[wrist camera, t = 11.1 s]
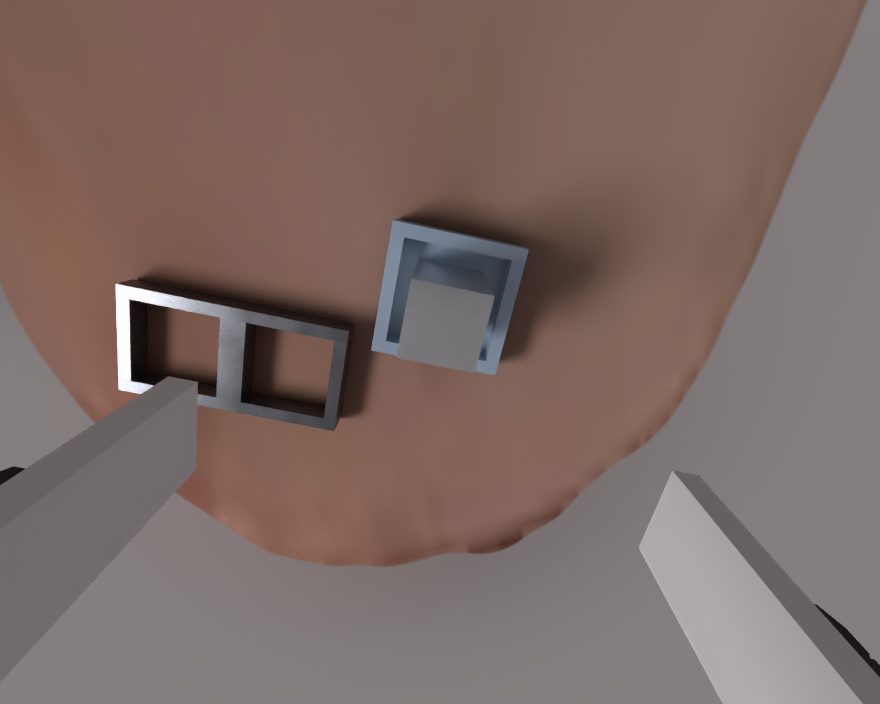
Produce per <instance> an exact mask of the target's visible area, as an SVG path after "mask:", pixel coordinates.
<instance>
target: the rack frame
mask: <svg viewBox="0 0 880 704" xmlns="http://www.w3.org/2000/svg"><path fill="white" fill-rule="evenodd" d="M146 303H151V304H156V305H161V306H166V307H170V308H175V309H180V310H185V311H190V312H195V313H200V314H205V315H210V316H215V317H220V333H219V353H218V373H217V386H215V385H210V384H205V383H199V382H198V394H197V405H201V406H206V407H212V408H217V409H222V410H227V411H233V412H238V413H243V414H248V415H253V416H259V417H264V418H269V419H274V420H279V421H285V422H290V423H295V424H300V425H306V426H311V427H316V428H321V429H326V430H332V431H334V430H335V428H336V426H337V424H338V422H339V420H340V413H341V407H342V400H343V393H344V387H345V380H346V374H347V367H348V360H349V354H350V347H351V341H352V334H353V328H354V324H349V323H344V322H339V321H334V320H329V319H324V318H320V317H315V316H310V315H305V314H300V313H295V312H290V311H285V310H280V309H276V308H271V307H266V306H261V305H256V304H251V303H246V302H241V301H236V300H232V299H227V298H222V297H217V296H212V295H207V294H202V293H197V292H192V291H188V290H183V289H178V288H173V287H168V286H163V285H158V284H153V283H148V282H144V281H139V280H134V279H133V280H129V281H125V282H121V283H117V284H116V313H117V347H118V382H119V390H123V391H128V392H133V393H139V394H142V393H143V392H145V391H147V390H148V389H150V388H151V387H153V386H154V385H156V384H157V383H159V382H160V381H162V380H164V379H165V378H167V377H168V376H163V375H158V374H153V373H148V372H146ZM256 325H259V326H264V327H269V328H274V329H279V330H284V331H289V332H294V333H299V334H304V335H309V336H314V337H319V338H324V339H329V340H334V349H333V356H332V363H331V370H330V378H329V385H328V392H327V399H326V406H325V407H323V406H318V405H313V404H307V403H302V402H297V401H292V400H287V399H282V398H277V397H271V396H266V395H261V394H256V393H251V379H252V366H253V353H254V340H255V327H256Z"/></svg>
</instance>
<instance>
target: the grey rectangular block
mask: <svg viewBox="0 0 880 704" xmlns="http://www.w3.org/2000/svg"><path fill="white" fill-rule="evenodd" d="M494 297H495V296H494V294H493V292H492V290H491V287H490V285H489V283H488V281H487V279H486V277H485V275H484V273H483V272H480V271H475V270H470V269H466V268H461V267H457V266H452V265H447V264H443V263H438V262H433V261H429V260H424V259H420V260H419V262H418V264H417V267H416V269H415V271H414V273H413V275H412V278H411V282H410V287H409V292H408V297H407V303H406V308H405V313H404V319H403V324H402V329H401V335H400V340H399V345H398V350H397V356H396V358H401V359H406V360H411V361H416V362H421V363H426V364H431V365H435V366H440V367H445V368H450V369H455V370H460V371H465V372H470V373H475V372H476V368H477V364H478V360H479V356H480V352H481V348H482V344H483V340H484V336H485V332H486V328H487V324H488V320H489V316H490V312H491V309H492V305H493V301H494Z"/></svg>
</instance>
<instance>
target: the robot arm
mask: <svg viewBox="0 0 880 704" xmlns="http://www.w3.org/2000/svg"><path fill="white" fill-rule="evenodd" d="M197 394H198V382H196V381H191V380H185V379H180V378H175V377H169V376H168V377H167V378H165V379H164V380H162V381H160V382H159V383H157V384H156V385H154V386H153V387H151V388H150V389H148V390H147V391H145V392H143V393H142V394H140V395H139V396H137V397H136V398H134V399H133V400H131V401H130V402H128V403H127V404H125V405H123V406H122V407H120V408H119V409H117V410H116V411H114V412H113V413H111V414H110V415H108V416H106V417H105V418H103V419H102V420H100V421H99V422H97V423H96V424H94V425H93V426H91V427H89V428H88V429H86V430H85V431H83V432H82V433H80V434H79V435H77V436H76V437H74V438H73V439H71V440H70V441H68V442H66V443H65V444H63V445H62V446H60V447H59V448H57V449H56V450H54V451H52V452H51V453H49V454H48V455H46V456H45V457H43V458H42V459H40V460H39V461H37V462H35V463H34V464H32V465H31V466H29V467H28V468H26V469H24V468H19V467H11V468H8V469H5V470H3V471H0V682H1V680H3V679H4V677H5V676H6V675H7V674H8V673H9V672H10V671H11V670H12V669H13V668H14V667H15V666H16V664H17V663H18V662H19V661H20V660H21V659H22V658H23V657H24V656H25V654H26V653H27V652H28V651H29V650H30V649H31V648H32V647H33V646H34V645H35V644H36V643H37V641H39V639H40V638H41V637H42V636H43V635H44V634H45V633H46V632H47V631H48V629H50V627H51V626H52V625H53V624H54V623H55V622H56V621H57V620H58V619H59V618H60V617H61V615H62V614H63V613H64V612H65V611H66V610H67V609H68V608H69V607H70V606H71V605H72V603H73V602H74V601H75V600H76V599H77V598H78V597H79V596H80V595H81V594H82V593H83V592H84V590H85V589H86V588H87V587H88V586H89V585H90V584H91V583H92V582H93V581H94V580H95V578H96V577H97V576H98V575H99V574H100V573H101V572H102V571H103V570H104V569H105V568H106V566H107V565H108V564H109V563H110V562H111V561H112V560H113V559H114V558H115V557H116V556H117V555H118V553H119V552H120V551H121V550H122V549H123V548H124V547H125V546H126V545H127V544H128V543H129V542H130V540H131V539H132V538H133V537H134V536H135V535H136V534H137V533H138V532H139V531H140V530H141V528H142V527H143V526H144V525H145V524H146V523H147V522H148V521H149V520H150V518H152V516H153V515H154V514H155V513H156V512H157V511H158V510H159V509H160V508H161V507H162V505H164V503H165V502H166V501H167V500H168V499H169V498H170V497H171V496H172V495H173V494H174V493H175V492H176V490H177V489H178V488H179V487H180V486H181V485H182V484H183V483H184V482H185V481H186V480H187V478H188V477H189V476H190V475H191V474H192V473H193V472H194V471H195V470H196V440H197ZM639 549H640V551H641V553H642V555H643V557H644V559H645V560H646V562H647V564H648V566H649V568H650V570H651V572H652V573H653V575H654V577H655V579H656V581H657V583H658V585H659V586H660V588H661V590H662V592H663V594H664V595H665V597H666V599H667V601H668V603H669V605H670V607H671V609H672V610H673V612H674V614H675V616H676V618H677V620H678V621H679V623H680V625H681V627H682V629H683V631H684V633H685V634H686V636H687V638H688V639H689V642H690V644H691V646H692V647H693V649H694V651H695V653H696V655H697V656H698V659H699V660H700V662H701V664H702V666H703V668H704V669H705V671H706V673H707V675H708V677H709V679H710V681H711V683H712V684H713V686H714V688H715V690H716V692H717V694H718V696H719V697H720V699H721V701H722V703H723V704H880V665H879V664H878V663H877V662H876V661H875V660H874V659H871V658H870V656H869V655H870V654H869V653H868V652H867V651H866V650H865V649H864V647H863V646H861V644H860V643H859V642H858V641H857V640H856V639H855V638H854V637H853V636H852V634H851V633H850V632H849V631H848V630H847V629H846V628H845V627H844V626H842V625H841V624H840V623H839V622H837V621H836V620H835V619H834V618H832V617H831V616H830V615H829V614H827V613H826V612H825V611H824V610H823V609H821V608H820V607H819V606H818V605H815V604H813V603H812V601H810V599H809V598H808V597H807V596H806V595H805V594H804V593H803V591H802V590H801V589H800V588H799V587H798V586H797V585H796V584H795V583H794V581H793V580H792V579H791V578H790V577H789V576H788V575H787V573H786V572H785V571H784V570H783V569H782V568H781V567H780V566H779V565H778V564H777V562H776V561H775V560H774V559H773V558H772V557H771V556H770V554H769V553H768V552H767V551H766V550H765V549H764V548H763V547H762V546H761V544H760V543H759V542H758V541H757V540H756V539H755V538H754V537H753V536H752V534H751V533H750V532H749V531H748V530H747V529H746V528H745V527H744V525H743V524H742V523H741V522H740V521H739V520H738V519H737V518H736V516H734V514H733V513H732V512H731V511H730V510H729V509H728V508H727V506H726V505H725V504H724V503H723V502H722V501H721V500H720V499H719V497H718V496H717V495H716V494H715V493H714V492H713V491H712V490H711V489H710V487H709V486H708V485H707V484H706V483H705V482H704V481H703V480H702V479H701V477H700V476H698V475H694V474H688V473H683V472H678V471H672V473H671V475H670V477H669V480H668V482H667V484H666V487H665V489H664V491H663V494H662V496H661V498H660V500H659V503H658V505H657V507H656V509H655V512H654V514H653V516H652V519H651V521H650V523H649V525H648V528H647V530H646V532H645V535H644V537H643V539H642V541H641V544H640V546H639Z"/></svg>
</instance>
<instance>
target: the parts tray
mask: <svg viewBox="0 0 880 704" xmlns="http://www.w3.org/2000/svg"><path fill="white" fill-rule="evenodd" d="M528 252H529V249H527V248H525V247H524V246H520V245H515V244H511V243H506V242H502V241H497V240H493V239H488V238H483V237H479V236H474V235H470V234H465V233H460V232H456V231H451V230H447V229H442V228H437V227H433V226H428V225H424V224H419V223H415V222H410V221H405V220H401V219H394V220H393V222H392V228H391V234H390V240H389V246H388V252H387V258H386V264H385V270H384V276H383V282H382V288H381V294H380V300H379V306H378V312H377V318H376V324H375V330H374V336H373V342H372V348H371V350H372V351H377V352H382V353H387V354H392V355H397V350H398V345H399V340H400V335H401V329H402V324H403V319H404V313H405V308H406V303H407V297H408V292H409V287H410V282H411V278H412V275H413V273H414V271H415V269H416V267H417V264H418V262H419V260H420V259H424V260H429V261H433V262H438V263H443V264H447V265H452V266H457V267H461V268H466V269H470V270H475V271H480V272H483V273H484V275H485V277H486V279H487V281H488V283H489V285H490V287H491V290H492V292H493V294H494V296H495V297H494V301H493V305H492V309H491V312H490V316H489V320H488V324H487V328H486V332H485V336H484V340H483V344H482V348H481V352H480V356H479V360H478V364H477V368H476V372H481V373H486V374H491V375H495V374H496V371H497V367H498V363H499V359H500V356H501V352H502V348H503V345H504V341H505V337H506V334H507V330H508V326H509V322H510V319H511V315H512V311H513V308H514V304H515V300H516V296H517V293H518V289H519V285H520V282H521V278H522V274H523V270H524V267H525V263H526V259H527V256H528Z"/></svg>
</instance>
